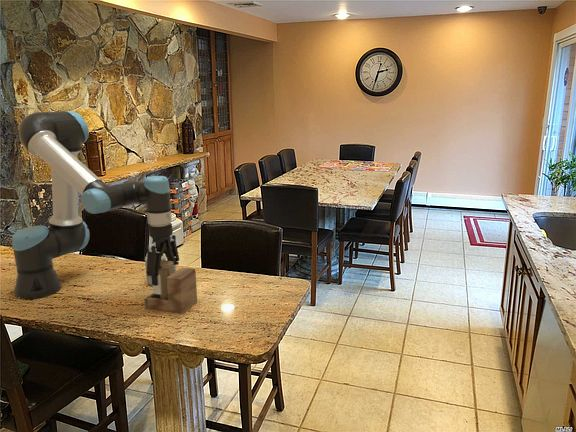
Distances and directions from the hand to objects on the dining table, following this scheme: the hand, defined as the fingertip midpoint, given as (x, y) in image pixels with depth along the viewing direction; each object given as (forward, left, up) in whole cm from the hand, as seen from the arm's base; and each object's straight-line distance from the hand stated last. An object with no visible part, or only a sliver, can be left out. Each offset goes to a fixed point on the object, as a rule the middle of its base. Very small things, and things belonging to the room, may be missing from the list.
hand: (165, 288), depth 158 cm
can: (-14, +16, -6) cm, 22 cm away
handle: (0, 0, -6) cm, 6 cm away
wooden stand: (+3, 0, -6) cm, 7 cm away
